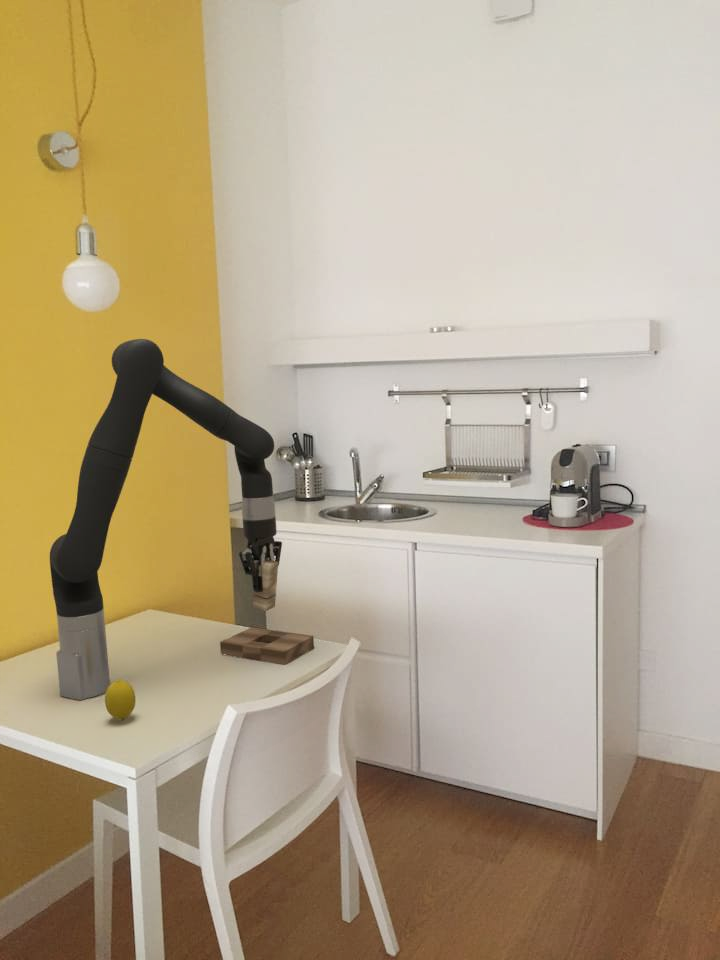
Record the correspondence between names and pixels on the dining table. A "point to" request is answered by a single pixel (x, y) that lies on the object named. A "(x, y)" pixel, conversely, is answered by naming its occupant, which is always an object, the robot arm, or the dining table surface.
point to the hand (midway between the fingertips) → (263, 588)
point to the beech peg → (267, 586)
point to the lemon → (120, 699)
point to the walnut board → (267, 645)
